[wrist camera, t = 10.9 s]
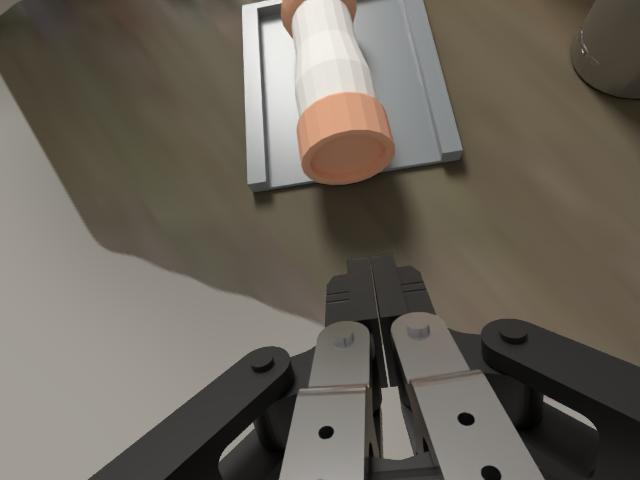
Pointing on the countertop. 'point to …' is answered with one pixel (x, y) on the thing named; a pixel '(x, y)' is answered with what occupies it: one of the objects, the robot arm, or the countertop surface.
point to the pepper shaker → (335, 95)
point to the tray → (389, 77)
